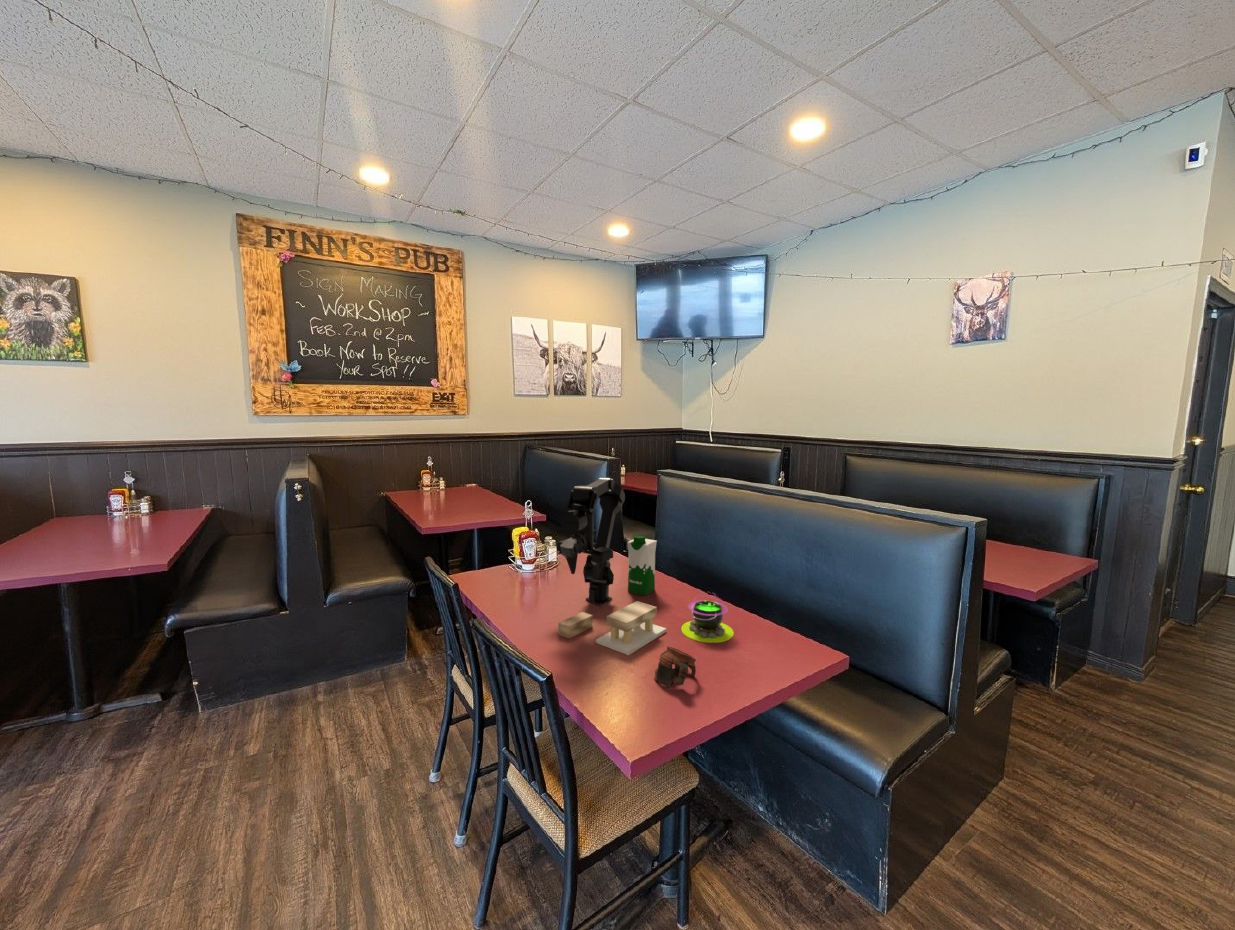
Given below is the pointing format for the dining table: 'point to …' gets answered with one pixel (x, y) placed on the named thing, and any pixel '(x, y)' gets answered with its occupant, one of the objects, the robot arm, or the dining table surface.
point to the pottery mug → (676, 674)
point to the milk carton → (641, 565)
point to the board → (631, 616)
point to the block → (575, 625)
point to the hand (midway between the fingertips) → (584, 577)
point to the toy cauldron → (707, 623)
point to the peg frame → (631, 637)
